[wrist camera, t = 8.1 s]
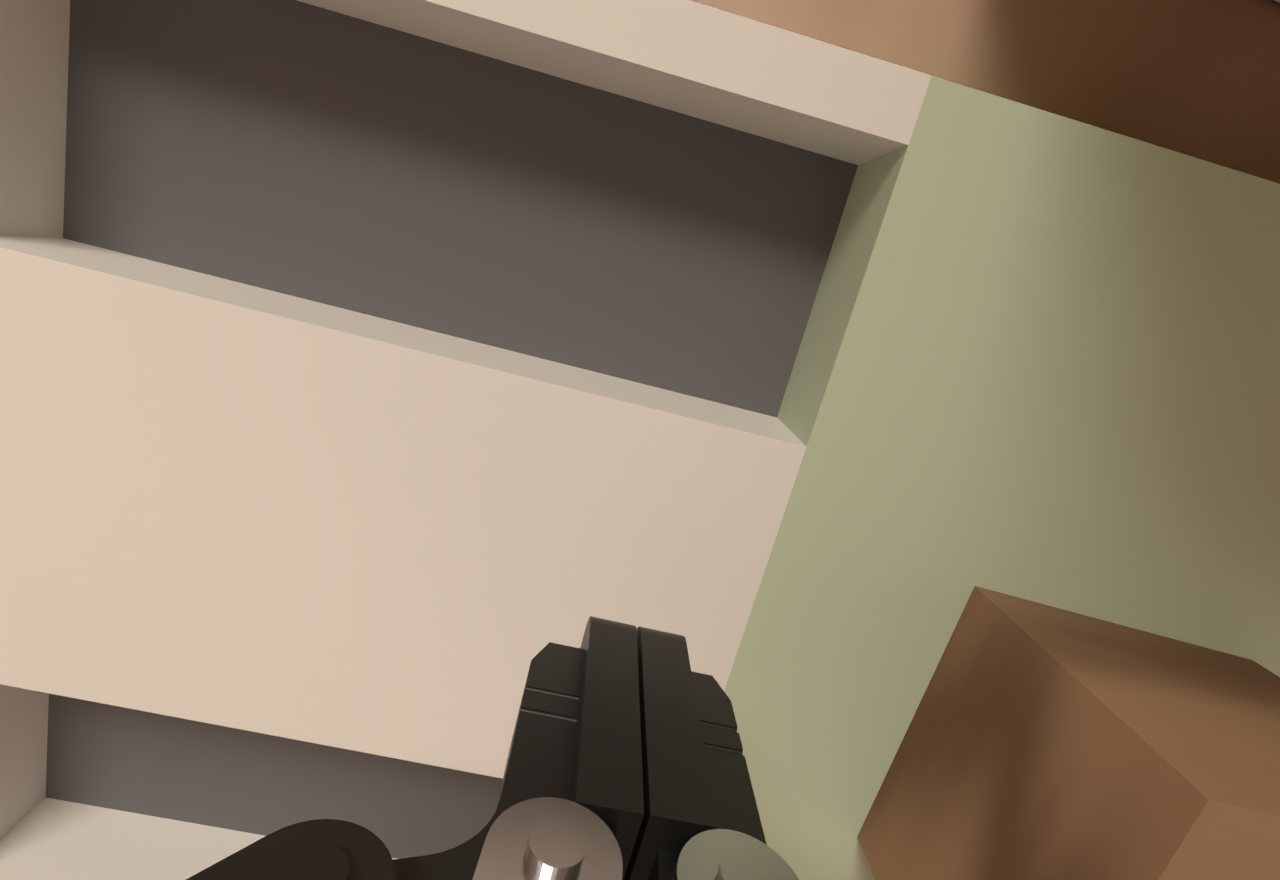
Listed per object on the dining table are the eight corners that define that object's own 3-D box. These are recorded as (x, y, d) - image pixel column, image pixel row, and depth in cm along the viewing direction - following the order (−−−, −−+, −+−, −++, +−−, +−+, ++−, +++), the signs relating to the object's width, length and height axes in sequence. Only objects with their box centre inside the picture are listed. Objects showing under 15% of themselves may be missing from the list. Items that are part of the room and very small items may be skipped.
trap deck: (-39, -163, 11) (-407, -400, 7) (1478, 295, 14) (1821, 309, 10) (-33, 805, 16) (-246, 983, 12) (1075, 994, 18) (1195, 1187, 15)
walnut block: (975, 585, 12) (1208, 799, 7) (1252, 659, 13) (1637, 902, 8) (857, 836, 14) (987, 1152, 9) (1111, 892, 14) (1363, 1215, 9)
